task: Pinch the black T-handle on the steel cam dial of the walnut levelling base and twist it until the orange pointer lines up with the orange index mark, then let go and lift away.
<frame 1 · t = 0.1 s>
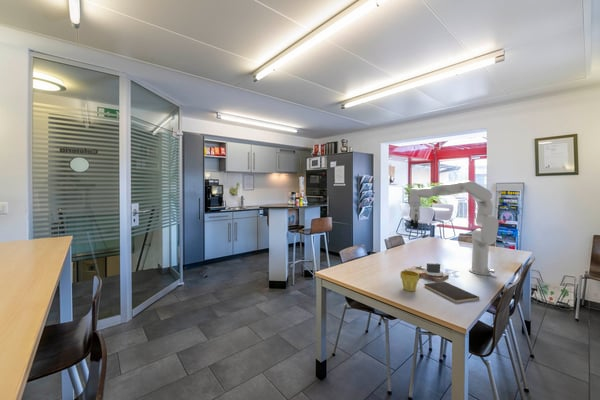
hand: (414, 227, 190), 31 cm above the table, fingers open, 9 cm apart
levelling base: (425, 274, 176), on the table
hardcover book: (449, 293, 146), on the table
cam dial: (431, 268, 172), point 6 cm above the table, hinge at 50.0°
plant pot: (409, 289, 151), on the table
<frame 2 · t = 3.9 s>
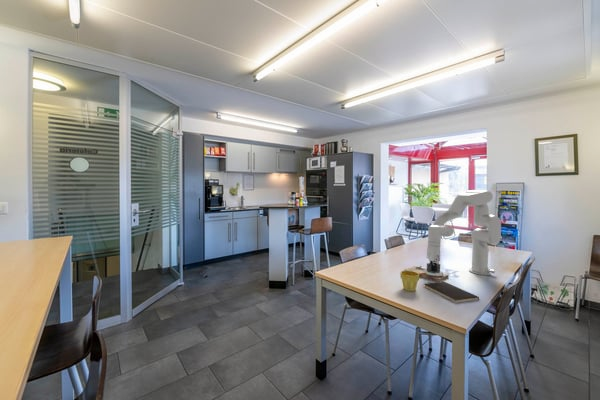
hand: (433, 270, 172), 5 cm above the table, fingers closed on cam dial, 2 cm apart
cam dial: (431, 268, 172), point 6 cm above the table, hinge at 50.0°, touching gripper
everything else where it was.
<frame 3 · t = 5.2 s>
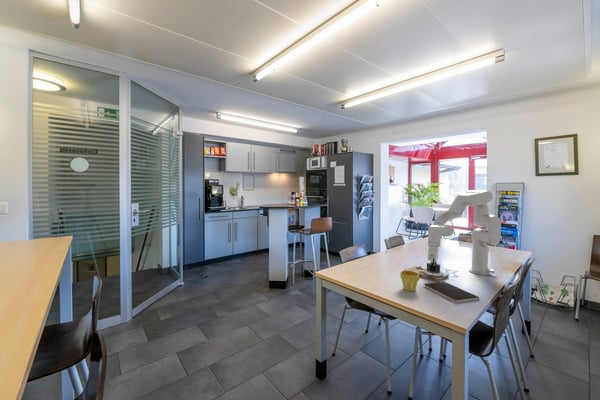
hand: (433, 270, 172), 5 cm above the table, fingers closed on cam dial, 2 cm apart
cam dial: (430, 268, 173), point 6 cm above the table, hinge at 20.5°, touching gripper
everything else where it was.
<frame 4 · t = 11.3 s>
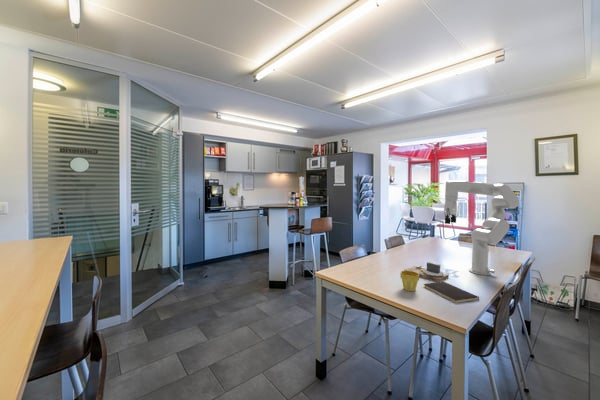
hand: (450, 223, 176), 36 cm above the table, fingers open, 9 cm apart
cam dial: (431, 268, 173), point 6 cm above the table, hinge at -1.7°
everything else where it was.
at the end: cam dial at -2° (first picture: +50°); the gripper is holding nothing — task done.
